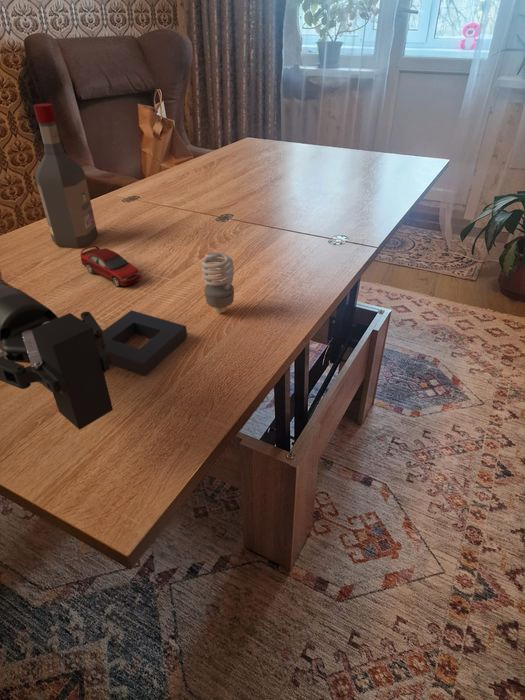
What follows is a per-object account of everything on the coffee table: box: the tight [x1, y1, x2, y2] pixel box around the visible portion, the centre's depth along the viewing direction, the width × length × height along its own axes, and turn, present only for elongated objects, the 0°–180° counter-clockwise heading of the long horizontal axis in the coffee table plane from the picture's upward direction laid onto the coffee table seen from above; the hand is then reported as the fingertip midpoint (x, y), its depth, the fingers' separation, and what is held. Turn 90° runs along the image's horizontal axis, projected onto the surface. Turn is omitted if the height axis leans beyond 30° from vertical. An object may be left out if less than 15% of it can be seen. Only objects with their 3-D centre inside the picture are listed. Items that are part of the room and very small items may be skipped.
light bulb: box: [201, 251, 235, 314], centre depth 87 cm, size 6×6×12 cm
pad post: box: [32, 312, 114, 431], centre depth 55 cm, size 5×5×12 cm
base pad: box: [102, 309, 188, 377], centre depth 81 cm, size 12×12×2 cm
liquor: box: [33, 102, 99, 249], centre depth 109 cm, size 9×9×30 cm
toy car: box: [80, 245, 142, 288], centre depth 101 cm, size 6×15×5 cm, turn 47°
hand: (85, 374), depth 53 cm, fingers closed on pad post, 4 cm apart
